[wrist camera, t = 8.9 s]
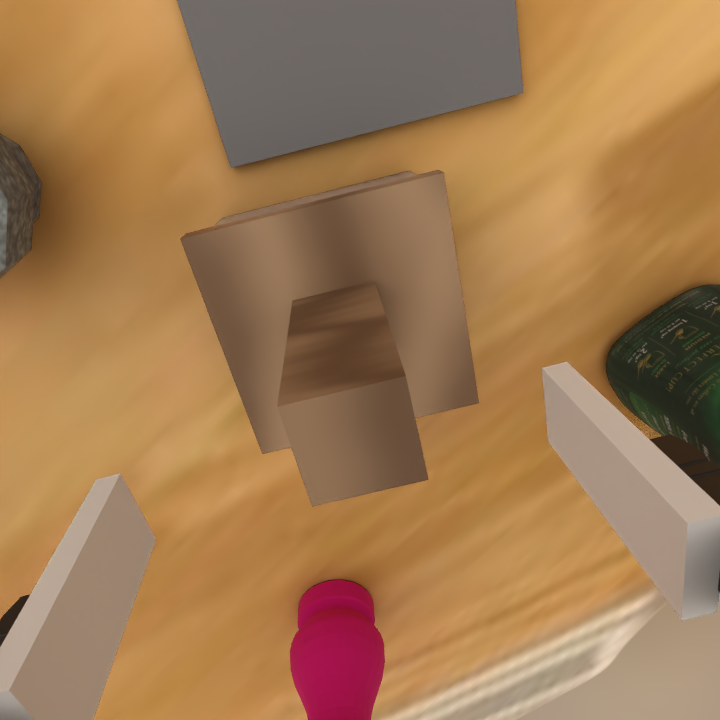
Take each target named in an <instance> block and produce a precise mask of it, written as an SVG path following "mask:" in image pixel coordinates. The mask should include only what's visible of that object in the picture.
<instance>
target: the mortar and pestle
mask: <svg viewBox="0 0 720 720" xmlns="http://www.w3.org/2000/svg"><path fill="white" fill-rule="evenodd" d="M40 197H41V181H40V179H39V177H38V176H37V174H36V172H35V170H34V169H33V167H32V165H31V164H30V162H29V160H28V159H27V157H26V155H25V153H24V152H23V150H22V148H21V147H20V146H19V145H18V144H16V143H14V142H13V141H11V140H10V139H8V138H6V137H5V136H3V135H1V134H0V278H1V277H2V276H3V275H4V274H5V273H7V272H8V271H9V270H10V269H11V268H12V267H13V266H14V265H15V264H16V263H17V262H19V261H20V260H21V259H22V258H23V257H24V256H25V255H26V254H27V253H28V252H29V251H30V250H31V249H32V230H33V222H34V221H36V220H37V219H38V218H39V216H40Z"/></svg>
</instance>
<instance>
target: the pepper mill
mask: <svg viewBox="0 0 720 720" xmlns="http://www.w3.org/2000/svg"><path fill="white" fill-rule="evenodd" d="M374 623H375V616H374V607H373V600H372V598H371V596H370V594H369V593H368V592H367V590H366V589H364V588H363V587H362V586H360V585H358V584H356V583H354V582H350V581H345V580H331V581H326V582H323V583H320V584H318V585H315V586H313V587H312V588H311V589H309V590H308V591H307V592H306V593H305V594H304V595H303V597H302V598H301V600H300V603H299V608H298V628H299V631H298V632H297V633H296V635H295V637H294V639H293V641H292V644H291V649H290V662H291V672H292V676H293V680H294V684H295V687H296V689H297V692H298V694H299V696H300V698H301V701H302V703H303V705H304V707H305V710H306V713H307V717H308V720H371V715H372V710H373V706H374V702H375V699H376V696H377V693H378V690H379V687H380V684H381V681H382V676H383V670H384V663H385V656H384V643H383V639H382V637H381V634H380V632H379V631H378V630H377V628H376V627H375V626H374Z"/></svg>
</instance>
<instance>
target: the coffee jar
mask: <svg viewBox="0 0 720 720" xmlns="http://www.w3.org/2000/svg"><path fill="white" fill-rule="evenodd" d="M606 372H607V376H608V380H609V382H610V384H611V386H612V388H613V389H614V391H615V393H616V395H617V396H618V398H619V399H620V400H621V402H622V403H623V404H624V405H625V406H626V407H627V408H628V409H629V410H630V411H631V412H632V413H633V414H634V415H636V416H637V417H638V418H639V419H640V420H642V421H643V422H644V423H646V424H647V425H648V426H650V427H651V428H652V429H654V430H655V431H656V432H658V433H659V434H661V435H662V436H666V435H673V436H675V437H677V438H679V439H682V440H684V441H686V442H688V443H691V444H693V445H694V446H695V447H696V448H697V449H698V450H700V451H701V452H702V453H703V454H704V455H705V456H707V457H708V460H709V461H710V460H711V461H713V462H714V463H715V464H716V465H717V466H718V467H720V285H703V286H699V287H696V288H693V289H691V290H689V291H687V292H685V293H683V294H681V295H679V296H678V297H676V298H674V299H672V300H671V301H669V302H667V303H666V304H664V305H662V306H661V307H659V308H658V309H656V310H655V311H654V312H652V313H651V314H649V315H648V316H646V317H645V318H644V319H642V320H641V321H640V322H638V323H637V324H636V325H635V326H633V327H632V328H631V329H630V330H628V331H627V332H626V333H625V334H624V335H622V336H621V337H620V338H619V339H618V340H617V341H616V343H615V344H614V345H613V347H612V348H611V350H610V352H609V355H608V359H607V364H606Z"/></svg>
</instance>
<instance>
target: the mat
mask: <svg viewBox="0 0 720 720" xmlns="http://www.w3.org/2000/svg"><path fill="white" fill-rule="evenodd" d="M177 1H178V4H179V8H180V11H181V14H182V17H183V20H184V23H185V26H186V29H187V33H188V36H189V39H190V42H191V45H192V48H193V51H194V54H195V57H196V61H197V64H198V67H199V70H200V73H201V76H202V79H203V82H204V86H205V89H206V92H207V95H208V98H209V101H210V104H211V107H212V110H213V114H214V117H215V120H216V123H217V126H218V129H219V132H220V135H221V139H222V142H223V145H224V148H225V151H226V154H227V157H228V160H229V163H230V167H231V168H232V167H236V166H240V165H244V164H248V163H252V162H255V161H259V160H263V159H267V158H271V157H275V156H279V155H283V154H287V153H291V152H295V151H298V150H302V149H306V148H310V147H314V146H318V145H322V144H326V143H330V142H334V141H338V140H342V139H345V138H349V137H353V136H357V135H361V134H365V133H369V132H373V131H377V130H381V129H385V128H388V127H392V126H396V125H400V124H404V123H408V122H412V121H416V120H420V119H424V118H428V117H431V116H435V115H439V114H443V113H447V112H451V111H455V110H459V109H463V108H467V107H471V106H474V105H478V104H482V103H486V102H490V101H494V100H498V99H502V98H506V97H510V96H514V95H518V94H521V93H523V84H522V72H521V60H520V48H519V36H518V24H517V13H516V1H515V0H177Z"/></svg>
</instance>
